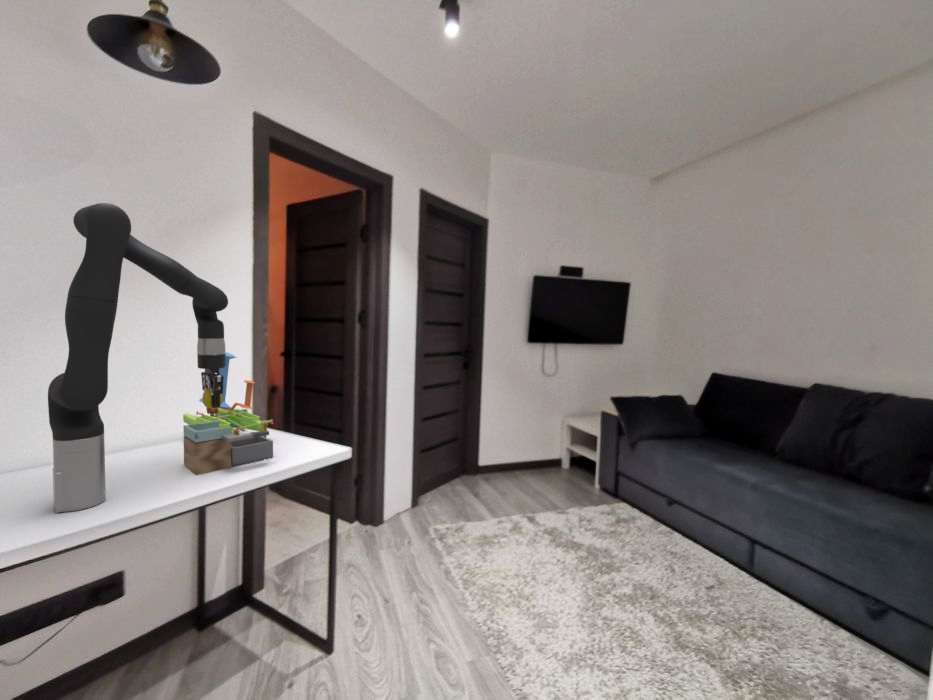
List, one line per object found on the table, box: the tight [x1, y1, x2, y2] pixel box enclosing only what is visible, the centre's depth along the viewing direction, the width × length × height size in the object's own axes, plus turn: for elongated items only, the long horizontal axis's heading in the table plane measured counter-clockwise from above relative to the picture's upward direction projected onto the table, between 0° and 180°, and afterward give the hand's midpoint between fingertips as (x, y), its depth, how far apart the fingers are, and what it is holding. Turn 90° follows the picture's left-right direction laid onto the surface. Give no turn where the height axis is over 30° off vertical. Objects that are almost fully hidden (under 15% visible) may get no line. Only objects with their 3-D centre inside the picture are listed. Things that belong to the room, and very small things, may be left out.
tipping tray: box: [183, 421, 270, 442], centre depth 130 cm, size 19×19×3 cm
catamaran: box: [182, 351, 274, 438], centre depth 156 cm, size 18×32×35 cm, turn 69°
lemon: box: [201, 388, 223, 410], centre depth 128 cm, size 6×6×8 cm
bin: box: [231, 436, 274, 468], centre depth 138 cm, size 13×13×6 cm
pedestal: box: [183, 435, 232, 476], centre depth 129 cm, size 10×13×10 cm
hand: (212, 405), depth 128 cm, fingers closed on lemon, 5 cm apart
